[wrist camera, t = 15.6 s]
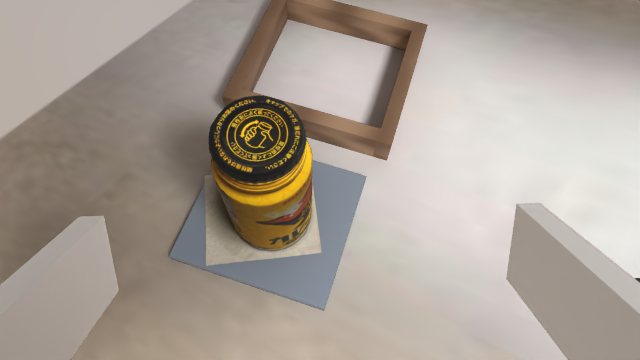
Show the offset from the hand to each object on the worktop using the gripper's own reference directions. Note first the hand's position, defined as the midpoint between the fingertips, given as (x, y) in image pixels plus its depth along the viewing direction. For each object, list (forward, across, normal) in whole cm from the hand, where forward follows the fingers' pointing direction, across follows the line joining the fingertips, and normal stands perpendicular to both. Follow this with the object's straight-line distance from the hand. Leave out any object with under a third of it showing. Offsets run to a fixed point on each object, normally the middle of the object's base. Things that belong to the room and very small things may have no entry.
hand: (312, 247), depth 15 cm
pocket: (+29, +2, +2) cm, 29 cm away
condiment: (+19, -4, -7) cm, 21 cm away
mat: (+19, -3, -8) cm, 21 cm away
